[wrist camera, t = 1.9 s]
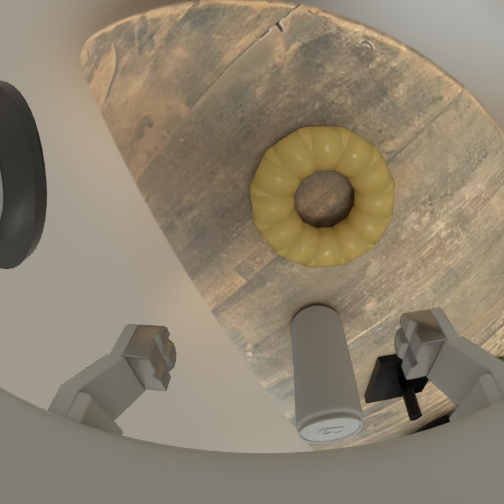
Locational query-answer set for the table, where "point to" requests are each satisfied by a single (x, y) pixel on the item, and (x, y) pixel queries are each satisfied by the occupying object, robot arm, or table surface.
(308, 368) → the beverage can
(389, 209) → the ring doughnut
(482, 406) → the robot arm
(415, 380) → the post
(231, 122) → the table surface
